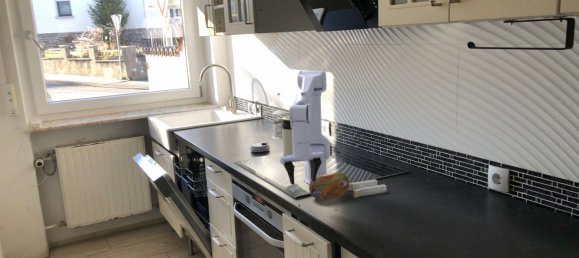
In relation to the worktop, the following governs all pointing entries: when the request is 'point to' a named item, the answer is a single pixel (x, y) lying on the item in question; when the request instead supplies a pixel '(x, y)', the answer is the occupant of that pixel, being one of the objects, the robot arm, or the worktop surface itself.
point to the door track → (366, 188)
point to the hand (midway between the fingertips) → (302, 182)
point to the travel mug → (287, 137)
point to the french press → (278, 124)
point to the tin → (329, 186)
